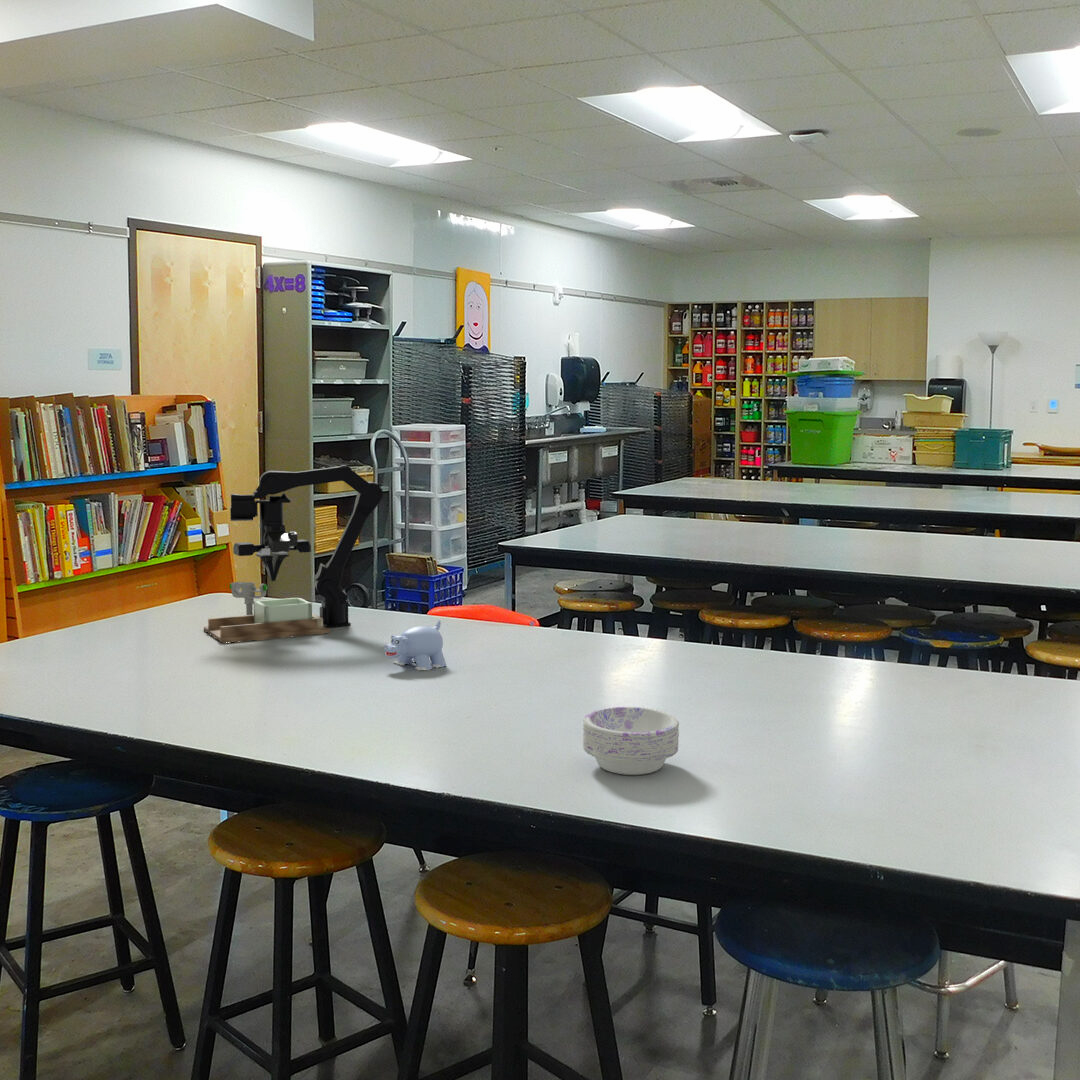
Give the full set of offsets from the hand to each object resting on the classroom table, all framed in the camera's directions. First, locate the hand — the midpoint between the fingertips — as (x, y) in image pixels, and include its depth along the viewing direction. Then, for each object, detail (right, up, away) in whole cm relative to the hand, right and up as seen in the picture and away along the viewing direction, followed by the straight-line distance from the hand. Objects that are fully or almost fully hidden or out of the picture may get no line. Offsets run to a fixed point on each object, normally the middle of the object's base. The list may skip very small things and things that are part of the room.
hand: (273, 581), depth 294 cm
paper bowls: (+83, -26, -110) cm, 140 cm away
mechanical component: (-9, -11, +10) cm, 17 cm away
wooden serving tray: (0, -13, -5) cm, 14 cm away
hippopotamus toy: (+41, -18, -41) cm, 61 cm away
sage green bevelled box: (+3, -11, -3) cm, 12 cm away
